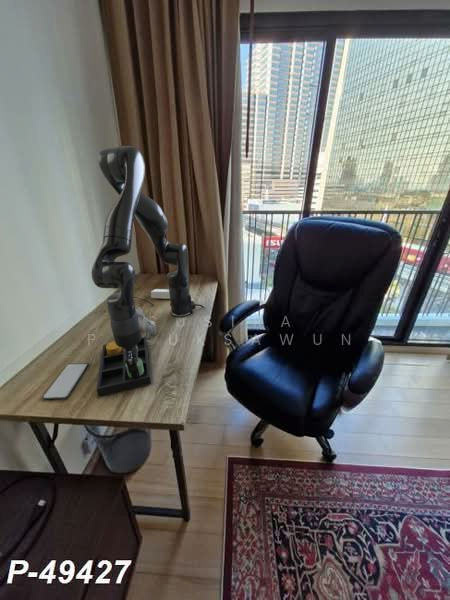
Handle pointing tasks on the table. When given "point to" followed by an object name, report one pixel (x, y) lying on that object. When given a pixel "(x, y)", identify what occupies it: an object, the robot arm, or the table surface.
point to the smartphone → (65, 381)
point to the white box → (160, 293)
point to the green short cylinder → (140, 368)
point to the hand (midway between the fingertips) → (135, 371)
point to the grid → (121, 371)
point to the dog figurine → (145, 323)
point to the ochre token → (113, 348)
